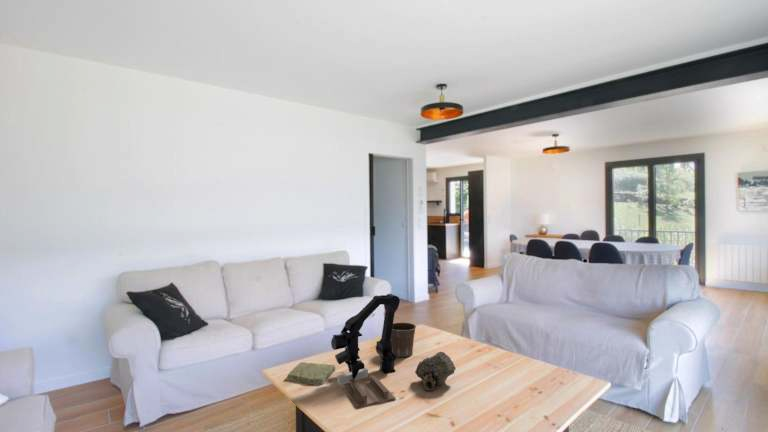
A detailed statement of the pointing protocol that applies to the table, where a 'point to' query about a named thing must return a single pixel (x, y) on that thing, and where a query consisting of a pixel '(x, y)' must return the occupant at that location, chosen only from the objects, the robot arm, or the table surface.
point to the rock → (435, 370)
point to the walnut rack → (368, 392)
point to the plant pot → (402, 339)
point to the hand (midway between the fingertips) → (352, 377)
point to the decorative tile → (311, 373)
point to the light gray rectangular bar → (347, 376)
